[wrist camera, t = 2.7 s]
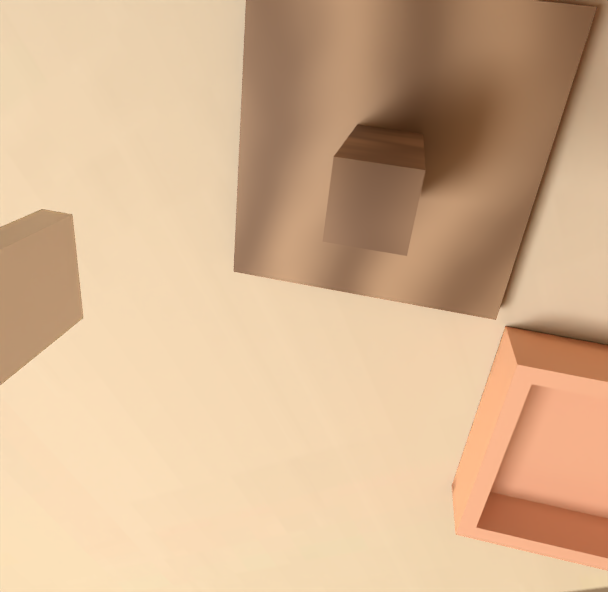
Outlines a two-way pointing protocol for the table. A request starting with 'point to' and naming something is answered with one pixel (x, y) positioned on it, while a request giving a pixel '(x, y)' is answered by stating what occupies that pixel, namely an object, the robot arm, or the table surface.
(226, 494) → the table surface
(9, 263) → the robot arm
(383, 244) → the lid
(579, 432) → the dish
